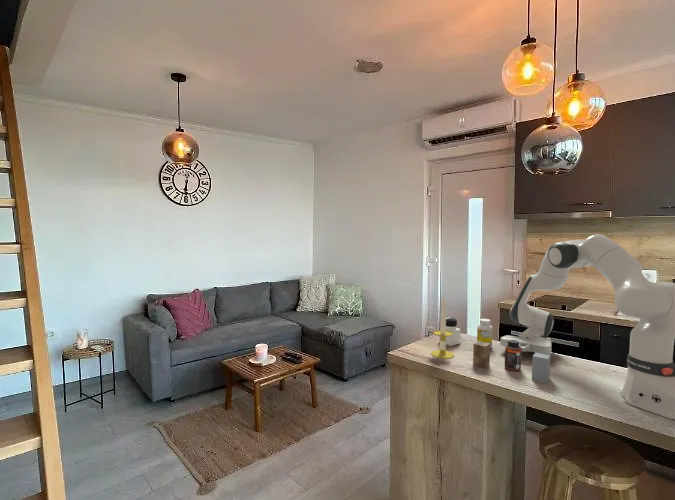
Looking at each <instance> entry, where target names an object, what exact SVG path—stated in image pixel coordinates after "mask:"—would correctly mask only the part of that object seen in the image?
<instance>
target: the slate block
mask: <svg viewBox="0 0 675 500" xmlns="http://www.w3.org/2000/svg"><path fill="white" fill-rule="evenodd" d="M551 356H552V355H551V354H550V355H546V354H541V353H536V352H534V354H533V355H532V362H531V363H532V364H531V366H532V367H531V368H532V369H531V380H533V381H535V382H540V383H541V382H542V383H545V384H547V383H548V382H549V381H550V380H551V379H550V377H551V376H550V374H551V358H552V357H551Z"/></svg>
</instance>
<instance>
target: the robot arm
mask: <svg viewBox="0 0 675 500" xmlns="http://www.w3.org/2000/svg"><path fill="white" fill-rule="evenodd" d="M590 266H592V267H593V268H595V269H596V270H597V271H598V272H599V273H600V274H601V275H602V276H603V277H604V278H605V280H607V282H608V283H609V284H610V285H611V286H612V288H613V290H614V292H615V295H614V304H615V306H616V309H617V310H618V311H619V312H620V313H621V314H622V315H624V316H627V317H633V318H636V319H637V318H638V319H639V318H640V319H639V321H638V323H637V324H636V325H635V326H634V327H633V328H632V330H631V331H630V335H629V337H630V338H629V353H627V358H626V367H627V371H626V377H625V381H624V384H623V388H622V389H621V392H620V395H621V397H622V398H624V402H625V403H626V404H628V405H630V406H633V407H636V408H640V409H643V410H644V411H647V412H651V413H654V414H656V415H659V416H662V417H664V418H667V419H670V420H673V419H674V420H673V421H675V362H674V360H673V359H674V358H673V356H674V345H675V282H671V281H670V282H669V281H663V282H662V281H661V282H660V281H659V282H652V281H650V280H648V279H647V278H646V277H645V275H644V274H643V272H642V271H643V265H642V263H641V262H640V261H639V260H637V259H636V258H635V257H634V256H633V255H631V254H630V252H628V251H627V250H626V249H625V248H624V247H622V246H621V245H620V244H618V243H617V242H616V241H614V240H613V239H611V238H609V237H607V236H606V235H605V234H601V233H600V234H598V233H597V234H593V235H591V236H589V237H587V238H586V239H571V240H565V241H559V242H555V243H553V244H552V245H550V246H549V248H548V249H547V251H546V252H545V254H544V256H543V259H542V261H541V263H540V266H539V270H538V271H537V272H536V273H535V274H531V275H530V276H529V277H528V279H526V281H525V283H524V285H523V287H522V289H521V291H520V293H519V295H518V297H517V299H516V300H515V303H513V305H512V307H511V308H510V310H509V317H510V319H511V320H512V322H513V323H516V324H520V325H523V326H526V327H527V329H526V330H524V331H523V332H522V333H520V334H519V336H515V335H508V334H507V335H504V336H500V339H499V341H500V344H499V345H500V346H502V347H506V345H508V340H517V341H519V346H520V347H521V352H524V353H525V352H527V353H541V354H546V355H551V354H552V340H551V339H552V338H550V337H548V336H549V335H550V334H551V332H552V331H553V329H554V324H555V319H554V316H553V314H552V313H551V312H549V311H547V310H543V309H541V308H538V307H535V306H533V305H532V306H531V305H529V304H528V303H527V302H528V300H529V298H530V295H531V294H532V292H536V291H544V292H545V291H547V292H548V291H556V290H559V289H561V288H562V287H563V286H565V283H566V282H567V279H568V277H569V274H570V271H571V269H576V268H584V267H590Z"/></svg>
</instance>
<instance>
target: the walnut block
mask: <svg viewBox="0 0 675 500" xmlns="http://www.w3.org/2000/svg"><path fill="white" fill-rule="evenodd" d="M490 354H491V348H490V343H485V342H480V341H477V340H476V342H474V343H473V353H472V357H473V358H472V359H473V360H472V366H474V367H477V368H482V369H487V368H488V367H490V364H491V363H490V360H491V357H490V356H491V355H490Z"/></svg>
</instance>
